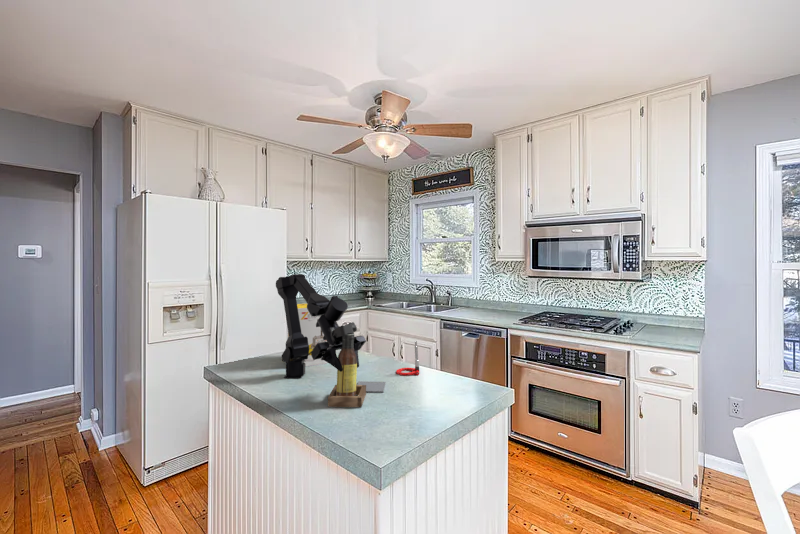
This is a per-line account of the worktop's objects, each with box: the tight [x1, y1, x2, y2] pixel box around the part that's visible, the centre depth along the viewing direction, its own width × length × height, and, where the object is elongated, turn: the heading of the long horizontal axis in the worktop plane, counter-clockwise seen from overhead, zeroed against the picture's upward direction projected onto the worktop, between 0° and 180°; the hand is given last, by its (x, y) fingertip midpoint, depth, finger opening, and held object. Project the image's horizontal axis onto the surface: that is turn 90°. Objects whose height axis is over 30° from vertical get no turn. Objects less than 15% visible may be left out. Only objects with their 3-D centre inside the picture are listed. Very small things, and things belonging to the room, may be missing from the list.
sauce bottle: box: [336, 333, 358, 396], centre depth 120 cm, size 7×6×20 cm
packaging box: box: [287, 303, 328, 368], centre depth 167 cm, size 16×16×25 cm
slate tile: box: [356, 380, 387, 394], centre depth 132 cm, size 10×10×1 cm
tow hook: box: [395, 340, 420, 377], centre depth 149 cm, size 8×13×9 cm
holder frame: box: [327, 384, 367, 408], centre depth 120 cm, size 10×11×3 cm
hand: (350, 368), depth 119 cm, fingers closed on sauce bottle, 6 cm apart
